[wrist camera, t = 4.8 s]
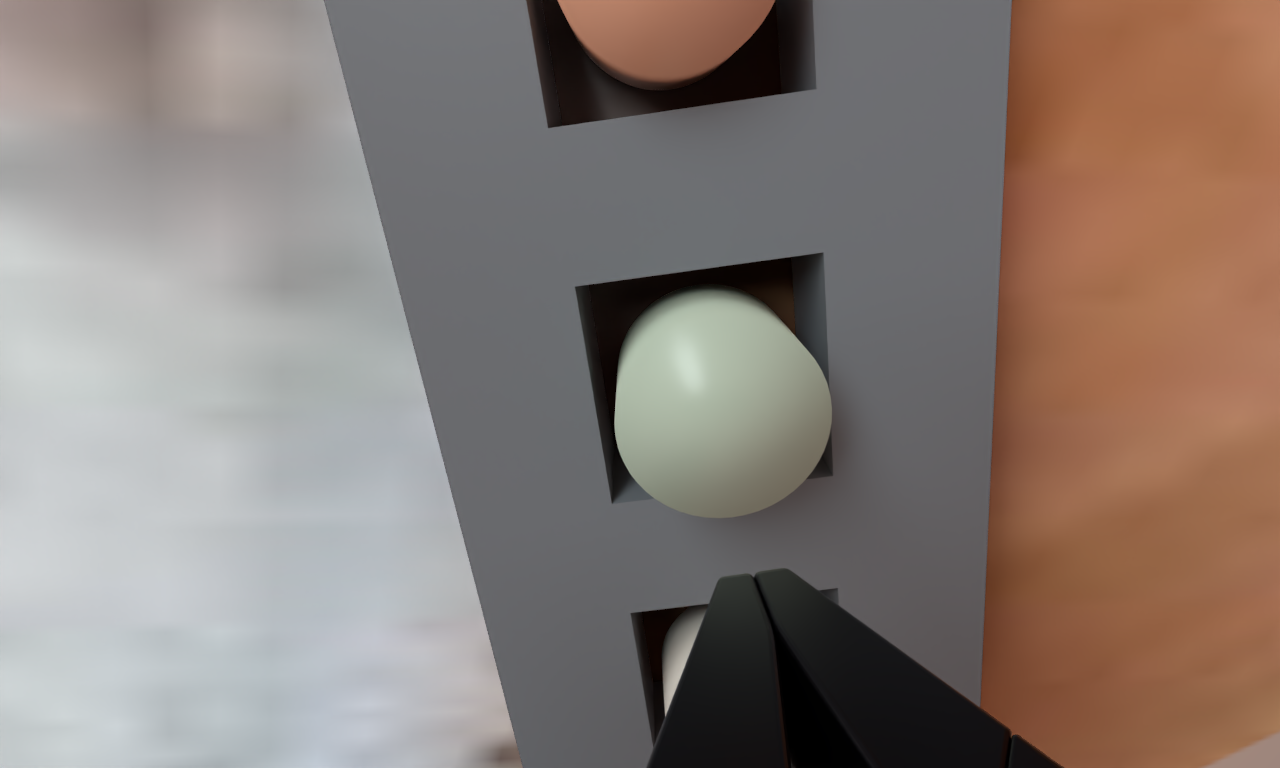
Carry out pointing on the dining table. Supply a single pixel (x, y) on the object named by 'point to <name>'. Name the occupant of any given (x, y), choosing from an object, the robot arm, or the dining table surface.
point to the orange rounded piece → (662, 36)
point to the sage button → (718, 403)
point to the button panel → (677, 242)
